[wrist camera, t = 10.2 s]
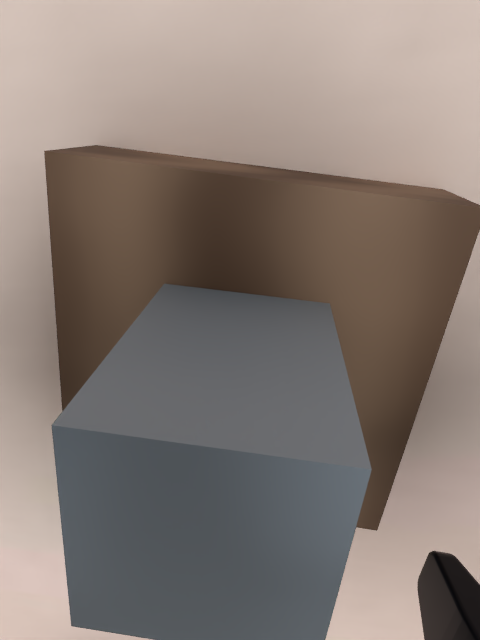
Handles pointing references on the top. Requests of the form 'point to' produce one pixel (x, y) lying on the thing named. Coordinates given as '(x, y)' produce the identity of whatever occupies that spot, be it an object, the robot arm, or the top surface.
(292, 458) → the slate block
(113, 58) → the top surface
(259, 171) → the walnut block
